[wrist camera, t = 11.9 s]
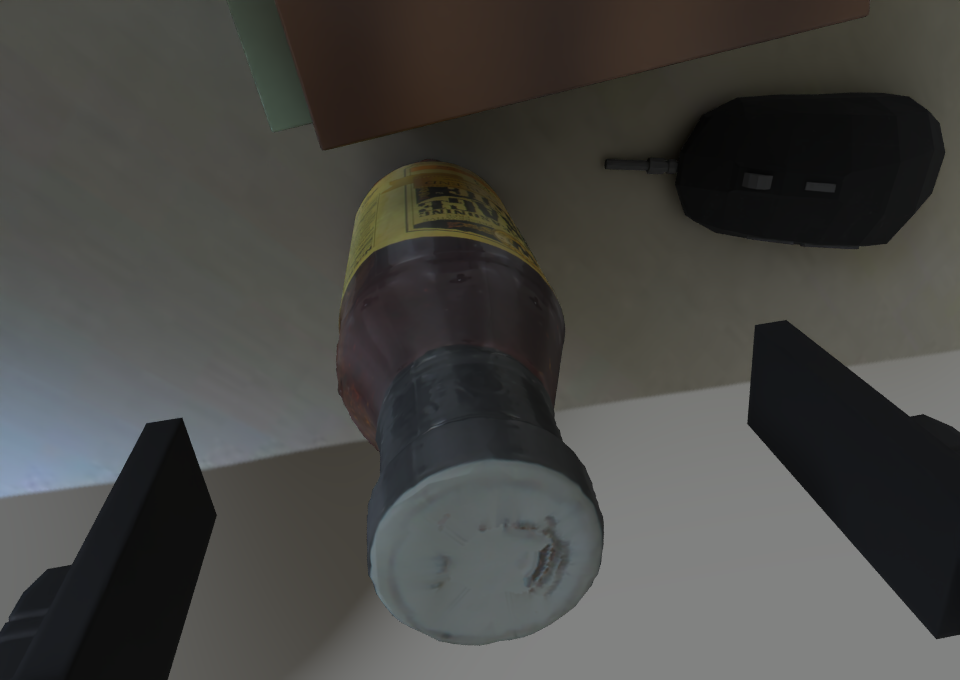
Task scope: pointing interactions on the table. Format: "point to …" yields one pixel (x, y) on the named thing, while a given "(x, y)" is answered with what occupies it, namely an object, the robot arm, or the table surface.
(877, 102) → the gaming mouse
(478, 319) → the sauce bottle
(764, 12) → the cabinet
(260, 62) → the drawer
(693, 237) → the table surface
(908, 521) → the robot arm
